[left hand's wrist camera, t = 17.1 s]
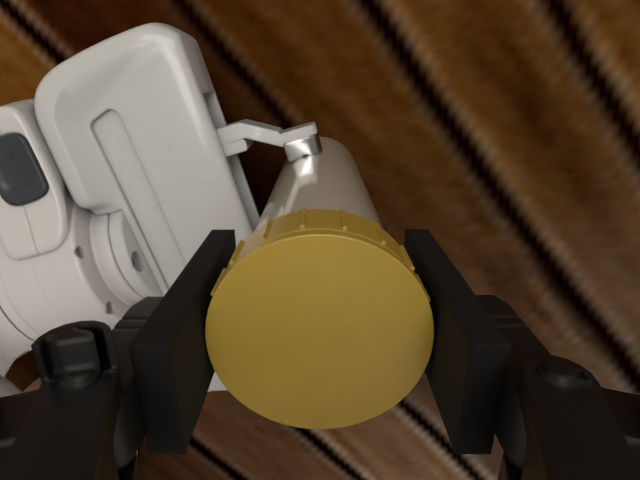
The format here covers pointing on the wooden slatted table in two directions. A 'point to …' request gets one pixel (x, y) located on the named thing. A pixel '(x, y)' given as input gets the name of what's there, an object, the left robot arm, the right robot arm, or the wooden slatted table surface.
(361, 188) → the beige cylinder
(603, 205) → the wooden slatted table surface
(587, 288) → the wooden slatted table surface
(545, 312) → the wooden slatted table surface
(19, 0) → the wooden slatted table surface
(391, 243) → the lid
